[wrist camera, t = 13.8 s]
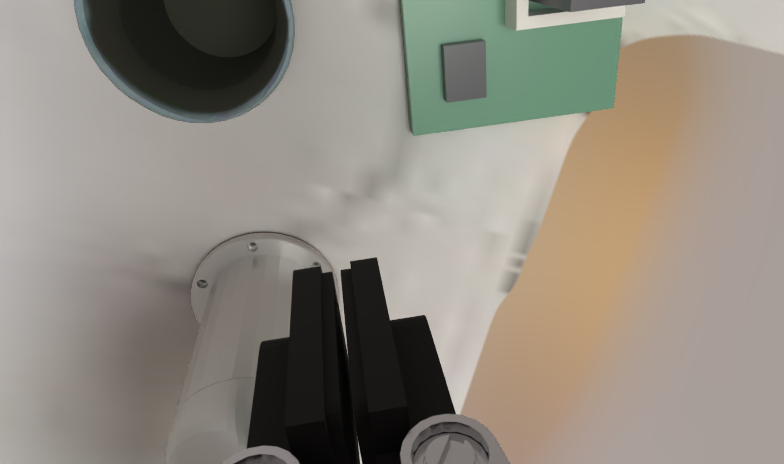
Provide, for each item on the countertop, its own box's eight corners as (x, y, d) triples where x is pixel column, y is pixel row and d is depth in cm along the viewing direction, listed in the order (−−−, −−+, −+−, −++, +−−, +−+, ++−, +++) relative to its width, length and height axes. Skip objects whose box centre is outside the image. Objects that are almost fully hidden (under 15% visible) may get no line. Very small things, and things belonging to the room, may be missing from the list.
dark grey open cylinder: (119, -75, 34) (34, -82, 24) (279, -100, 35) (265, -117, 24) (172, 86, 39) (121, 139, 29) (312, 62, 40) (312, 107, 29)
